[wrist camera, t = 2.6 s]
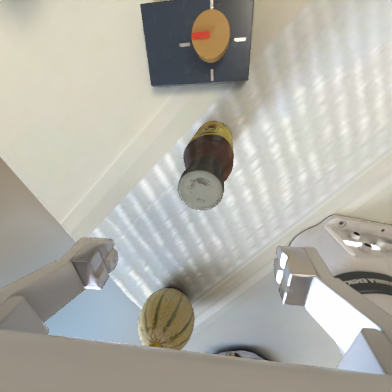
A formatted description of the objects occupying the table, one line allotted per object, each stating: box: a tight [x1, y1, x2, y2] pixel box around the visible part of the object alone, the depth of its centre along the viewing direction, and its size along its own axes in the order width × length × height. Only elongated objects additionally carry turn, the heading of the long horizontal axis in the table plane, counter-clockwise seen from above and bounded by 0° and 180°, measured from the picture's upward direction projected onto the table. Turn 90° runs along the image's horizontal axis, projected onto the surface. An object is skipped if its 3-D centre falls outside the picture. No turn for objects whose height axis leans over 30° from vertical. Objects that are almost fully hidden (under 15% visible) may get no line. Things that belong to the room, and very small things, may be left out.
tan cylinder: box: [191, 9, 230, 63], centre depth 23 cm, size 4×4×4 cm
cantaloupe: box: [138, 288, 195, 350], centre depth 49 cm, size 15×15×15 cm
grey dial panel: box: [140, 0, 254, 87], centre depth 26 cm, size 14×9×3 cm, turn 92°
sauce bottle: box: [178, 121, 234, 210], centre depth 24 cm, size 7×6×20 cm
